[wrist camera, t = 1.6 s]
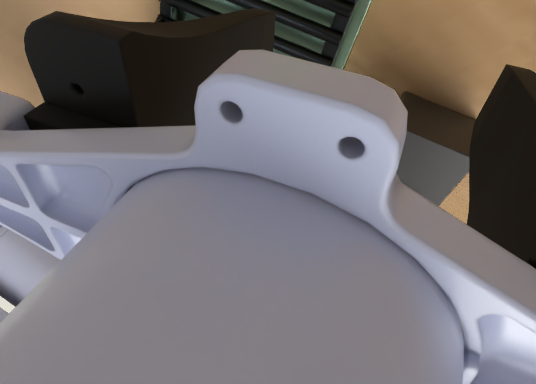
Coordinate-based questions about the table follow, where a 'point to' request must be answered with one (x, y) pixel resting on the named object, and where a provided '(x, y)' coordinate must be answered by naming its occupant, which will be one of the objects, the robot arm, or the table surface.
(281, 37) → the rack
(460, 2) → the table surface
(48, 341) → the robot arm
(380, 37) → the table surface
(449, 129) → the black box
